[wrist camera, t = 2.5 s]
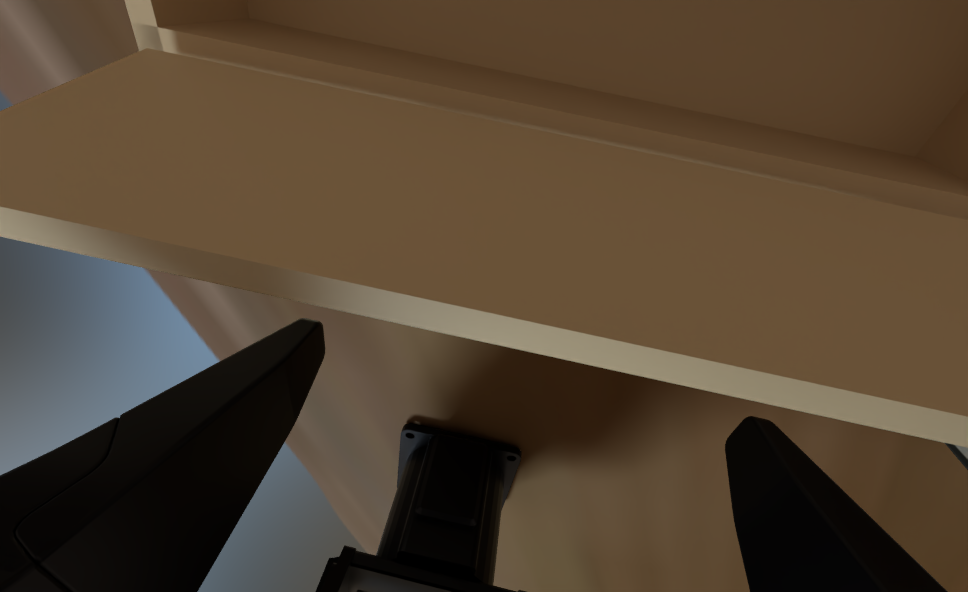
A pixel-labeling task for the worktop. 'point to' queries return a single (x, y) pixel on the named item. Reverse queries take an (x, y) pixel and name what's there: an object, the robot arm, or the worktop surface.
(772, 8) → the small cream bookshelf
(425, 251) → the flap
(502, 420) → the worktop surface
